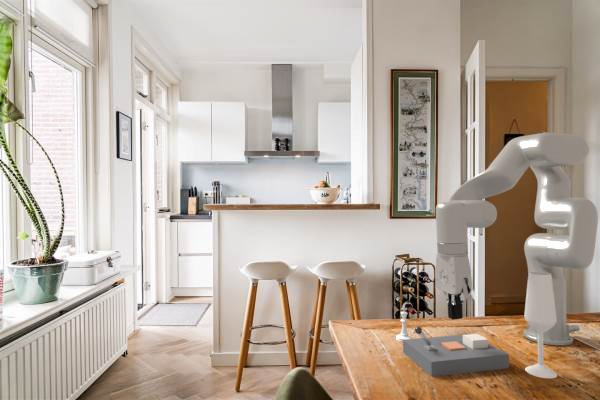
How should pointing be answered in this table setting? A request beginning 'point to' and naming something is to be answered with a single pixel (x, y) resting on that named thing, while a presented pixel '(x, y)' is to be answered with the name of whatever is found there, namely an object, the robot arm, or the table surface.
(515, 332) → the table surface
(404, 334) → the chess piece
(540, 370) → the champagne flute
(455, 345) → the button terracotta
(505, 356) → the panel
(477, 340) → the button white
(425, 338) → the toggle lever
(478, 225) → the robot arm
